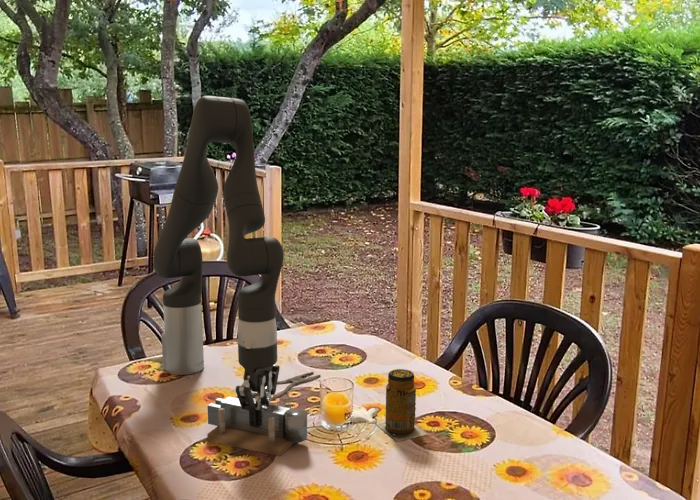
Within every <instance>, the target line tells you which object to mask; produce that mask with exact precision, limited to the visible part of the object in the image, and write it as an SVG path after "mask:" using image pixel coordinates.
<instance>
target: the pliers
mask: <svg viewBox="0 0 700 500" xmlns="http://www.w3.org/2000/svg"><path fill="white" fill-rule="evenodd" d="M313 374H314V371H310V372H307V373H303V374H299V375H296V376H294V377H291V378H287V379H285V380H280V381H278V380H277V385H287V384H289V385H288V386H286V387H285V389H284V390H283V391H281V392H280V393H279V394H277V395H276V394H275V395H273V396H271V401H273V400H275V399H278V398H280V397H283V396H284V395H286V394H287V393H288V391H290V390H291V389H292V388H293V387H296V386H298V385H300V384H304V383H309V382H312V381H315V380H317V379H319V378H320V377H321V374H315V375H314V376H312V375H313Z"/></svg>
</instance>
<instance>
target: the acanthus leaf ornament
mask: <svg viewBox="0 0 700 500" xmlns="http://www.w3.org/2000/svg"><path fill="white" fill-rule="evenodd" d="M352 405H353V412H352V415H351V417H350V420H351V421H353V422H352V423H354V422H355V423H358V422H366V423H369V424H371V425H375V424H378V421H377V420H376V419H374V418H373V417H375V416H377V414H378V412H380V409H379V408H374V407H372V408H369V409H368V410H367V409H366V408H365V407H363V406H361V407H359V406H358V405H355V404H352Z"/></svg>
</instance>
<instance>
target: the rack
mask: <svg viewBox="0 0 700 500" xmlns="http://www.w3.org/2000/svg"><path fill="white" fill-rule="evenodd" d="M236 398H238V396H237V395H236ZM284 407H285V408H290V409H292V404H291V403H290V402H286V403H284ZM218 413H219V426H215V428H213V429H212V430H211V431H209V432H208V433H207V435H206V436H207V437H206V438H207V441H208V442H211V443H216V444H219V445H225V446H228V447H229V446H230V447H234V448H235V447H236V448H239V449H244V450H249V451H252V452H253V451H255V452H259V453H265V454H270V455H272V456H278V457H280V456H282V455H283V454H284V453H285V452H286V451H287V450H288V449H289V448H290V447H291V446H292V445H293V444H294V443H293V442H288V441H286V440H285V437H284V438H278V437H275V422H274V417H269V418H268V435H264V434H259V433H255V432H250V431H245V430H240V429H236V428H231V427H226V426H225V409H224V408H219V409H218Z"/></svg>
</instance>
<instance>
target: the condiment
mask: <svg viewBox="0 0 700 500" xmlns="http://www.w3.org/2000/svg"><path fill="white" fill-rule="evenodd" d="M416 397H417V388H416V385H415V374H414V372H412V371H411V370H408V369H405V368H404V369H403V368H397V369H393V370H390V371H389V372H388V374H387V384H386V387H385V419H384V420H385V422H380V423H376V426H377V427H379V428H380V429H381V430H382V431H384V432H385V433H386V434H388V436H389V437H391V438H392V439H394V441H396V442H399V441H404V440H405V441H406V440H411V439H416V438H417V437H423V436H427V435H428V433H427V432H426V431H424V430H423V429H421V427H419V426H418V425H416V409H417V407H416V400H417V399H416Z"/></svg>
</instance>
